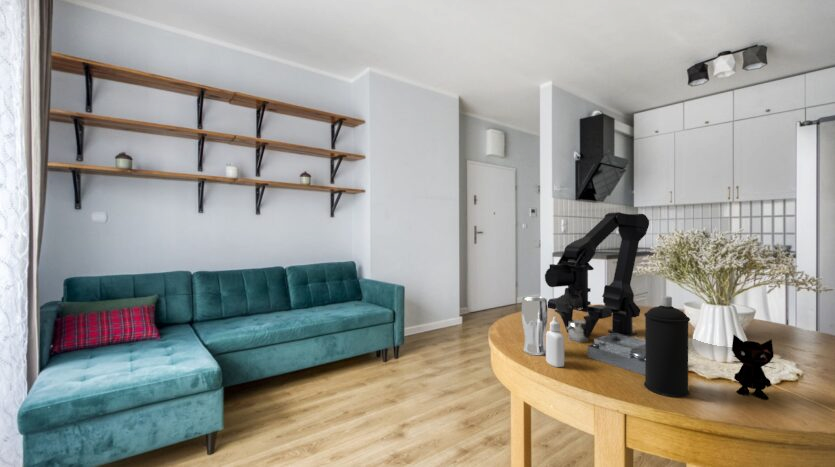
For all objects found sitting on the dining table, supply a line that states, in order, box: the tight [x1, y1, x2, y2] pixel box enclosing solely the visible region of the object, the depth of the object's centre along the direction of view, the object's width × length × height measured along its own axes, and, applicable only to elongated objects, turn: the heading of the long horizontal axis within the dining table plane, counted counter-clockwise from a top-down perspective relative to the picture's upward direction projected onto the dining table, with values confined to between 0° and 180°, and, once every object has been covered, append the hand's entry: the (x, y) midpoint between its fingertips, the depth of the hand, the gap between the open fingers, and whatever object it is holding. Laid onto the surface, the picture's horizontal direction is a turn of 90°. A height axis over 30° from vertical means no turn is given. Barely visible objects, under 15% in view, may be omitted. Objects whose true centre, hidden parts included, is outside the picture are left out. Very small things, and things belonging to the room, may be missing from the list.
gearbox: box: [587, 333, 645, 376], centre depth 98 cm, size 14×16×4 cm
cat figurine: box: [731, 334, 776, 401], centre depth 78 cm, size 7×7×12 cm
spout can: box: [565, 319, 589, 343], centre depth 116 cm, size 8×6×6 cm
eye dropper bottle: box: [545, 316, 565, 368], centre depth 97 cm, size 4×6×12 cm
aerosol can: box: [643, 295, 691, 398], centre depth 81 cm, size 8×8×20 cm
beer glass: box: [521, 296, 548, 356], centre depth 106 cm, size 7×7×15 cm
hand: (578, 335), depth 117 cm, fingers open, 6 cm apart
